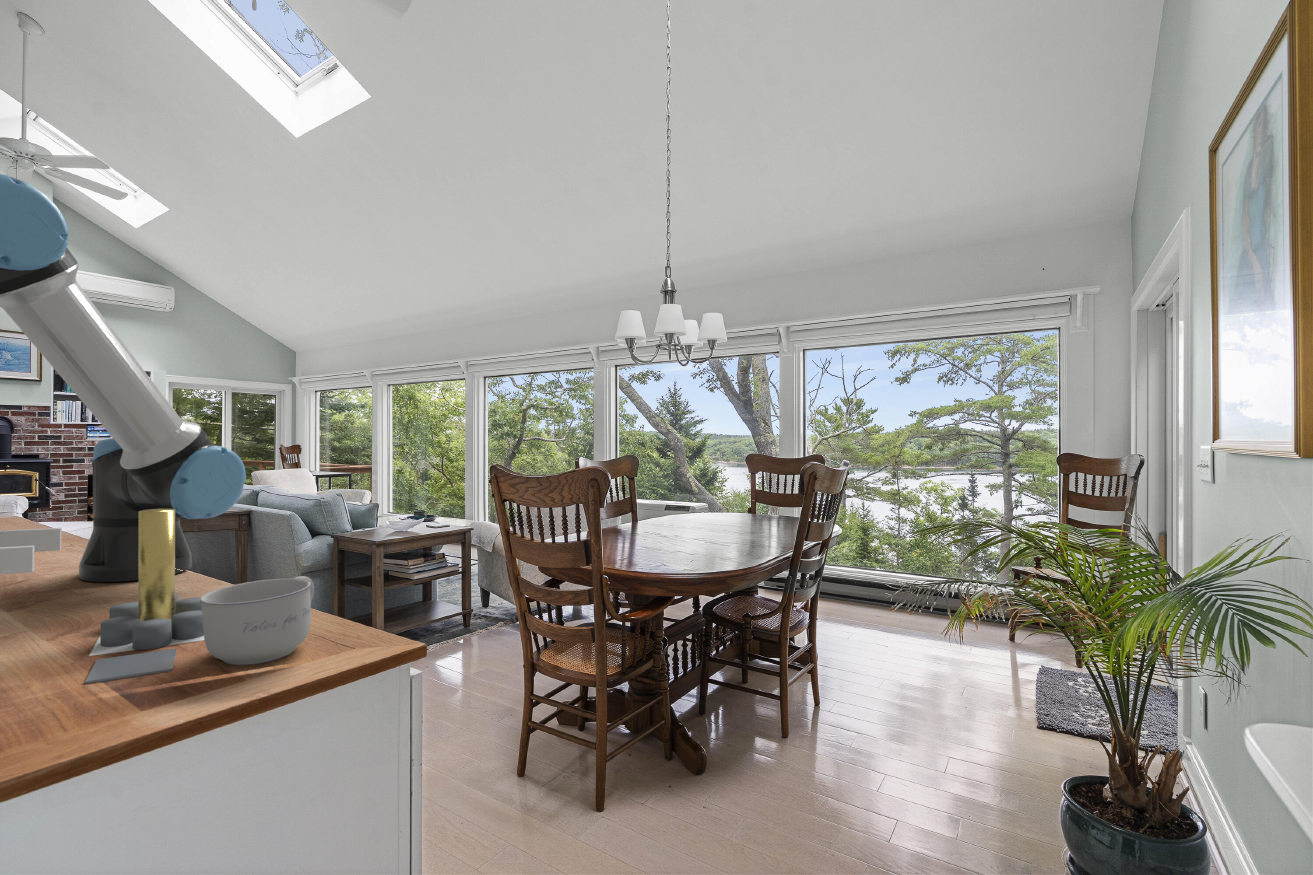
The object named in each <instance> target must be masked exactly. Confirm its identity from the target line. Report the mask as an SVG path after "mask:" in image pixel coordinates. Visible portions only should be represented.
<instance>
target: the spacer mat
mask: <svg viewBox="0 0 1313 875" xmlns="http://www.w3.org/2000/svg"><path fill="white" fill-rule="evenodd" d="M201 597H202V596H195V597H188V598H183V599H179V594H178V593H175V615H173V616H172V617H171V620H169V619H153V620H147V621H142V622H140V617H138V601H133V602H131V601H130V602H124V603H119V604H115V605H112V606H110V607H109V619H108V618H107V619H105V620H103V621H101V622H100V624H99V625H100V628H99V629H100V635H99V637H98V639H97V641H96V642H95V644H94V646H93V647H92V649H91V651H90V653H89V654H88V657H93V656H100V655H108V654H115V653H121V652H128V651H129V652H130V651H148V650H154V649H160V648H163V647H166V646H167V647H168V646H175V645H181V644H189V643H196V642H203V641H204V642H205V639H204V631H203V619H202V604H201V603H200V598H201Z"/></svg>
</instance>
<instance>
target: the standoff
mask: <svg viewBox="0 0 1313 875" xmlns="http://www.w3.org/2000/svg"><path fill="white" fill-rule="evenodd" d="M137 581H138V588H137V589H138V592H137V594H138V597H137V598H138V599H137V600H138V601H137V602H138V617H140V622H142V621H147V620H153V619H169V620H171V617H172V616H173V615H175V594H176V587H175V586H176V574H175V509H148V510H141V511H139V580H137Z"/></svg>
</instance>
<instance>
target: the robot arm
mask: <svg viewBox="0 0 1313 875" xmlns="http://www.w3.org/2000/svg"><path fill="white" fill-rule="evenodd" d="M68 236H70V233H69V227H68V223H67V221H66V219H65V217H64V215H63V214H62V212H61V211H60V209H59V208H58V207H57V205H56V203H54V201H53V200H51V198H50V197H48V196H47V195H45V194H44V193H43V192H42V191H41V190H39V189H37V188H36V187H34V186H33V185H31V184H29V183H27V182H25V181H23V180H20V179H17V178H15V177H13V176H9V175H6V174H2V173H0V308H2V309H3V310H4V312H5V313H6V314H7V315H8V317H9V318H11V320H12V321H13V322H14V323H15V324H16V325H17V327H18V329H19V330H21V332H22V333H23V334H24V335H25V336H26V338H28V340H29V341H30V342H31V344H32V345H33V346H34V347H35V348H36V349H37V350H38V351H39V353H40V354H41V355H42V356H43V357H44V358H45V360H47V362H48V363H49V365H50V366H51V367H52V368H53V369H54V370H55V372H57V374H58V375H59V377H61V379H62V380H63V381H64V382H65V383H66V385H67V386H68V387H69V388H70V389H71V391H73V393H74V394H75V395H76V396H77V397H78V398H79V400H80V401H81V402H82V403H83V405H84V406H85V407H86V408H87V409H88V410H89V412H91V414H92V415H93V416H94V417H95V419H97V421H98V422H99V423H100V425H101V426H102V427H103V428H104V429H105V430H106V431H107V432H108V434H109V435H110V436H111V437H112V438H107V439H106V438H105V439H102V440H100V441H98V442H96V444H95V445H94V448H93V452H92V453H93V455H92V460H91V466H92V518H93V519H92V521H93V522H92V532H91V535H90V537H89V540H88V542H87V544H86V547H85V550H84V552H83V554H82V557H81V559H80V562H79V566H78V578H79V579H80V580H81V581H84V582H95V583H115V582H120V583H121V582H131V581H132V582H133V581H139V511H141V510H148V509H175V568H176V569H175V575H176V574H179V573H183V572H186V571H188V570H190V569H191V568H192V566H193V556H192V552H191V549H190V546H189V544H188V542H187V539H186V537H185V534H184V532H183V530H182V527H181V520H180V519H181V518H182V519H184V518H185V519H187V520H198V519H211V518H215V517H218V516H220V515H222V514H224V513H226V512H228V511H229V510H230V509H231V508H232V507H233V506H235V505H236V503H237V502H238V501H239V499H240V498H241V496H242V495H243V491H244V485H245V483H246V480H247V472H246V468H245V465H244V462H243V460H242V459H241V457H240V456H239V455H238V454H237V453H236V452H235V451H233V450H231V449H229V448H227V447H224V446H221V445H215V443H213V441H212V440H211V438H210V437H209V436H208V435H207V433H206V432H205V431H204V429H203V427H201V426H200V424H198V423H197V422H192V421H187V420H183V419H182V418H181V417H180V416H179V414H178V413H177V411H176V410H175V409H174V408H173V407H172V405H171V404H170V403H169V401H168V400H167V399H166V397H165V396H164V395H163V393H162V392H161V391H160V389H159V388H158V387H157V386H156V383H154V381H153V380H152V379H151V378H150V377H149V375H148V374H147V372H146V371H145V370H144V369H143V367H142V365H141V364H140V363H139V361H138V360H137V359H136V358H135V357H134V355H133V354H132V352H130V350H129V349H128V347H127V346H126V345H125V343H124V342H123V341H122V340H121V338H120V337H119V335H118V334H117V332H115V330H114V329H113V328H112V326H111V325H110V323H108V321H107V320H106V318H105V317H104V316H103V314H102V313H101V312H100V311H99V309H98V308H97V306H96V305H95V303H93V301H92V300H91V299H90V298H89V296H88V295H87V294H86V292H85V290H83V289H82V288H83V287H81V285H80V284H79V283H78V281H77V279H76V278H77V274H78V270H79V267H80V263H79V262H78V261H77V259H76V258H75V257H74V255H73V254H72V252H71V251H70V250H69V248H68V246H69V243H68ZM61 550H62V527H51V528H50V527H49V528H31V529H30V528H27V529H5V530H0V575H8V574H9V575H10V574H24V573H34V571H35V553H40V552H41V553H42V552H54V551H55V552H58V551H61ZM177 569H180V570H183V571H180V570H177Z"/></svg>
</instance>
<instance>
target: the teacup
mask: <svg viewBox="0 0 1313 875" xmlns="http://www.w3.org/2000/svg"><path fill="white" fill-rule="evenodd" d="M314 594H315V586H314V583H313V580H312V579H311V578H310V577H308V576H306V575H305V576H304V575H303V576H302V575H300V576H298V575H297V576H296V577H294V578H271V579H261V580H254V581H247V582H243V583H237V584H233V585H227V586H223V587H220V588H216V589H214V590H210V591H209V592H206V593H205V594H203V595H201V596H200V597H201V598H200V603H201V604H202V619H203V631H204V639H205V640H204V643H205V644H204V645H205V647H206V649H207V651H208V652H209V654H210V655H211V656H213V657H215V658H216V659H219V660H221V661H223V662H224V663H226V664H228V665H229V664H230V665H233V666H235V665H236V666H246V665H258V664H264V663H269V662H274V661H277V660H279V659H282V658H285V657H287V656H289V655H291V654H292V653H293V652H294V651H295V650H296V649H297V647H298V646H300V644H302V643H303V642H304V641H305V639H306V638H307V637H308V635H309V633H310V629H311V625H312V624H311V621H312V608H311V606H312V604H311V602H312V600H313V598H314Z"/></svg>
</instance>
